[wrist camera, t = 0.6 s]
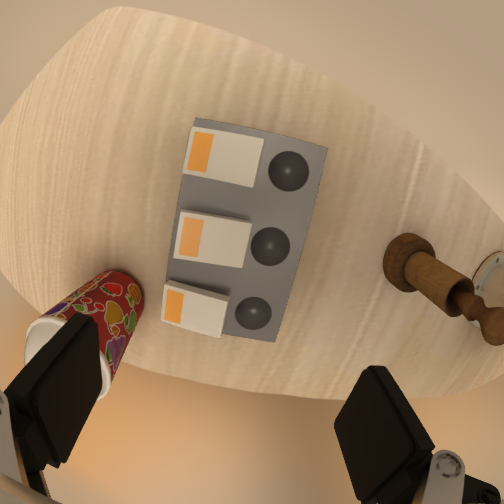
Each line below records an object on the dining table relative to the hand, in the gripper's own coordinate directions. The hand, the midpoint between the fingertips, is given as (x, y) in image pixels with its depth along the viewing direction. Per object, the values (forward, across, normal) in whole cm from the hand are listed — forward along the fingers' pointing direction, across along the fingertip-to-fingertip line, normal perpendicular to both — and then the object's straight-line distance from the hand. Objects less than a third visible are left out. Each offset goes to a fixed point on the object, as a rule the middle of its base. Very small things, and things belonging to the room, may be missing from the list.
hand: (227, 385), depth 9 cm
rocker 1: (+19, +2, -7) cm, 20 cm away
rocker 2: (+19, +2, +7) cm, 20 cm away
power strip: (+22, 0, 0) cm, 22 cm away
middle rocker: (+19, +2, 0) cm, 19 cm away
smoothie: (+22, +12, +10) cm, 27 cm away
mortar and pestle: (+22, -20, -1) cm, 30 cm away
